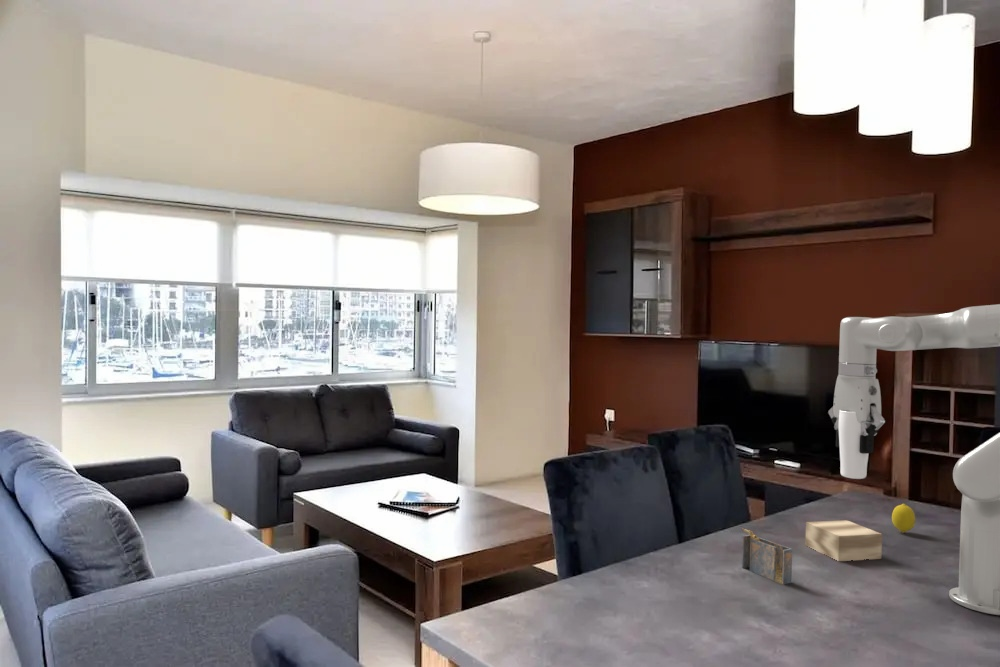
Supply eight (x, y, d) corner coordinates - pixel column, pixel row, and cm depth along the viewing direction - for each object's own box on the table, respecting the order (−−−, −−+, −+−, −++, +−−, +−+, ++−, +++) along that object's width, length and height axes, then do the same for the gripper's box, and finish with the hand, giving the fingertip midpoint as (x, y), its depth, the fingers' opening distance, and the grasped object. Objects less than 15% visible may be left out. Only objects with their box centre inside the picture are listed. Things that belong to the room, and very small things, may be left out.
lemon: (886, 531, 193) (887, 502, 193) (900, 529, 195) (901, 500, 195) (905, 536, 188) (906, 507, 188) (919, 534, 190) (920, 505, 190)
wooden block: (881, 558, 169) (882, 533, 169) (838, 561, 166) (839, 536, 166) (846, 543, 180) (846, 520, 180) (805, 545, 178) (805, 522, 178)
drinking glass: (874, 481, 155) (877, 413, 155) (841, 479, 156) (844, 412, 156) (863, 474, 162) (866, 409, 162) (832, 472, 163) (835, 408, 163)
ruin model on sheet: (740, 569, 160) (741, 527, 160) (749, 568, 161) (750, 525, 161) (781, 586, 150) (782, 541, 150) (791, 584, 151) (792, 539, 151)
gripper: (901, 374, 152) (898, 457, 152) (842, 369, 168) (840, 443, 168) (872, 374, 150) (869, 457, 150) (816, 368, 166) (813, 443, 167)
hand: (854, 449), depth 159 cm, fingers closed on drinking glass, 6 cm apart
